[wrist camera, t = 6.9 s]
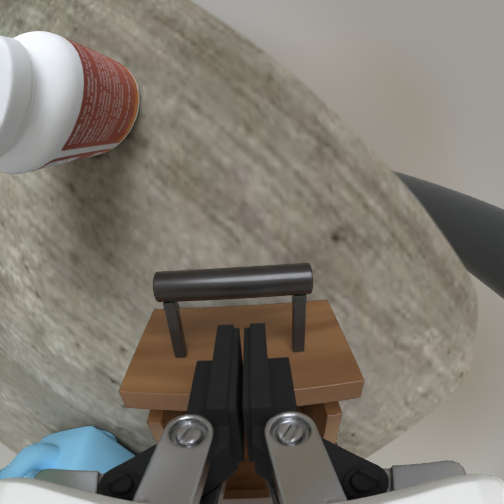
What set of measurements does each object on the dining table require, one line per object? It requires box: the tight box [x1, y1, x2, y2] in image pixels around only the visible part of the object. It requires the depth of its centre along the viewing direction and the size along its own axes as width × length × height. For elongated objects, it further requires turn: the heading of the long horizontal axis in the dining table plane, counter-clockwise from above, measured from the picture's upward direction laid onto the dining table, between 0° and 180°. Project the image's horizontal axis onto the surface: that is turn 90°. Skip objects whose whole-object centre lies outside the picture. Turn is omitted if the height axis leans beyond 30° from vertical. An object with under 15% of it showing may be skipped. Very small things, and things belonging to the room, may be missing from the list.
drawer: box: [119, 263, 364, 490], centre depth 18 cm, size 17×11×8 cm, turn 3°
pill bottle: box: [0, 31, 140, 174], centre depth 11 cm, size 6×6×11 cm
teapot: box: [0, 426, 135, 480], centre depth 22 cm, size 18×16×14 cm
